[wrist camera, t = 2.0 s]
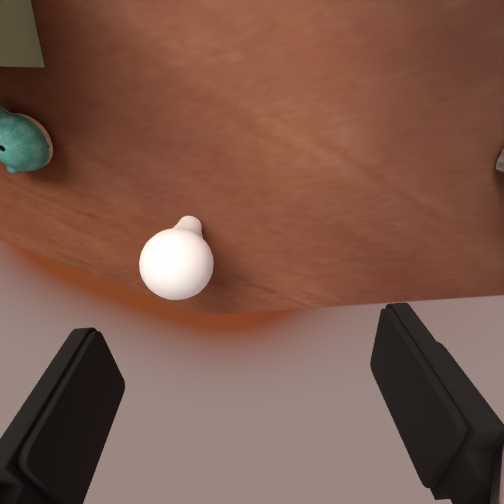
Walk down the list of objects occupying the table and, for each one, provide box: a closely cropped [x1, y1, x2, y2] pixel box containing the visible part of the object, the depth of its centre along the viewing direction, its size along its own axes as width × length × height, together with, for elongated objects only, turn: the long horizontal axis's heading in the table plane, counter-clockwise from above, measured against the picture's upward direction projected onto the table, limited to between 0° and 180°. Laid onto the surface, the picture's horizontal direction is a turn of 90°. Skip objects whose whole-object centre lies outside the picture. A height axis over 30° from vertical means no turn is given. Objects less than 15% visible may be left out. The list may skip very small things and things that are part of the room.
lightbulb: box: [139, 216, 214, 300], centre depth 27 cm, size 6×6×11 cm
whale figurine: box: [0, 106, 53, 174], centre depth 25 cm, size 6×7×4 cm
